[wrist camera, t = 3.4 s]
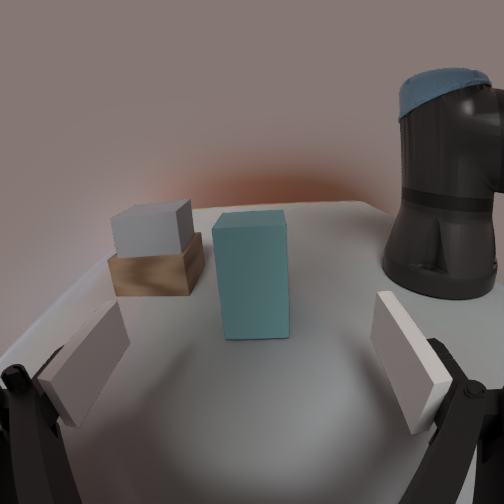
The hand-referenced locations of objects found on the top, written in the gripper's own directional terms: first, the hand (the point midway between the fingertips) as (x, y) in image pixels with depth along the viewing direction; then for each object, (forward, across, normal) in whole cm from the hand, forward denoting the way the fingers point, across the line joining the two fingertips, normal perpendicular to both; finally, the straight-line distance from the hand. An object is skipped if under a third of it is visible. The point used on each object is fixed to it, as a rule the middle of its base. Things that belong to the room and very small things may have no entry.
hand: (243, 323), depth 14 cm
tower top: (+20, -12, -2) cm, 23 cm away
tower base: (+20, -12, -6) cm, 24 cm away
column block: (+10, 0, -6) cm, 11 cm away
